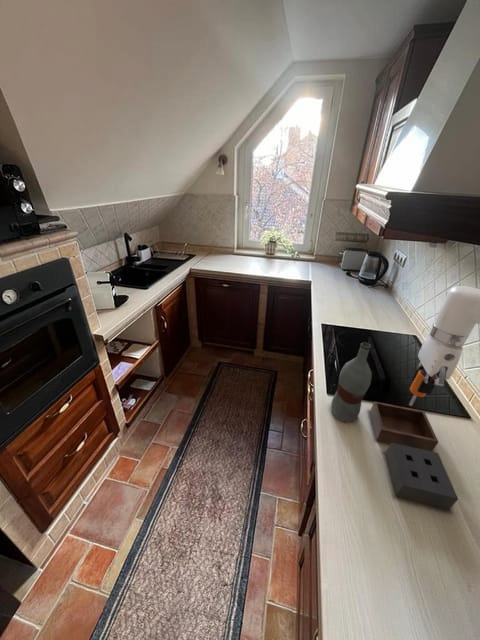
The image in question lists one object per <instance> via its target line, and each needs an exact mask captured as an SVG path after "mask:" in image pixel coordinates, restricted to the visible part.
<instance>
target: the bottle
mask: <svg viewBox="0 0 480 640" xmlns="http://www.w3.org/2000/svg"><path fill="white" fill-rule="evenodd" d="M371 348H372V345H371V344H370V343H369V342H365V341H364V342H361V343H360V347H359V350H358V352H357V355H356V357H354V358H352V359H351V360H349V361H346V363H344V365H343V366H342V368H341V369H340V372H339V376H338V383H337V389H336V391H335V393H334V395H333V397H332V400H331V406H330V409H331V413H332V415H333V416H334V417H335V418H336V419H337V420H339V421H341V422H343V423H344V422H346V423H352V422H354V421H355V420H356V419H357V417H358V416H359V414H360V412H361V408H362V402H363V399H364V398H365V395H366V393H367V391H368V390H369V388H370V386H371V382H372V376H373V375H372V370H371V368H370V365H369V363H368V361H367V359H368V355H369V352H370V350H371Z"/></svg>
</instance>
